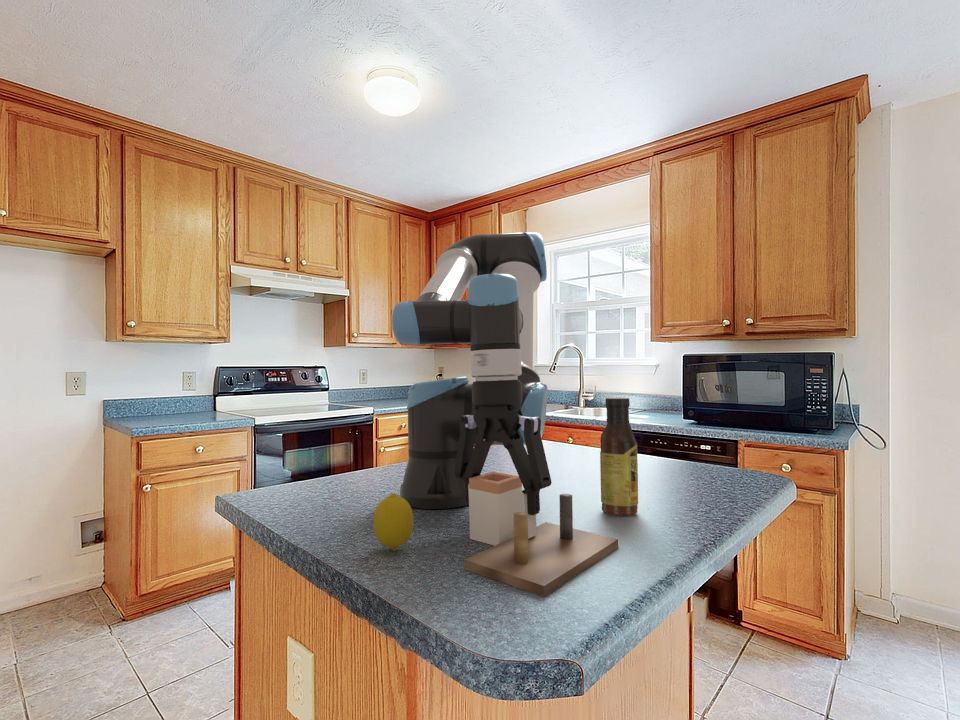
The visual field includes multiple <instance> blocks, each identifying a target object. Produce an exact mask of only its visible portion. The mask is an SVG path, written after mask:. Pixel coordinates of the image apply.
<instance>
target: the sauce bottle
mask: <svg viewBox="0 0 960 720" xmlns="http://www.w3.org/2000/svg"><path fill="white" fill-rule="evenodd" d="M604 404H605V407H606V419H605V421H606V426H605V427H604V429H603V430H602V433H601V435H600V451H599V455H600V456H599V459H600V461H599V462H600V463H599V464H600V467H599V468H600V469H599V470H600V472H599V473H600V502H601V511H602V512H603V513H604V514H606V515H609V516H614V517H631V516H635V515H636V514H637V513H638V508H639V507H638V505H639V472H638V471H639V470H638V465H639V464H638V442H637V440H636V437H635V434H634V431H633V430H632V426H631V424H630V415H629V414H630V411H629V410H630V409H629V408H630V398H629V397H606V398H605V403H604Z"/></svg>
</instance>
